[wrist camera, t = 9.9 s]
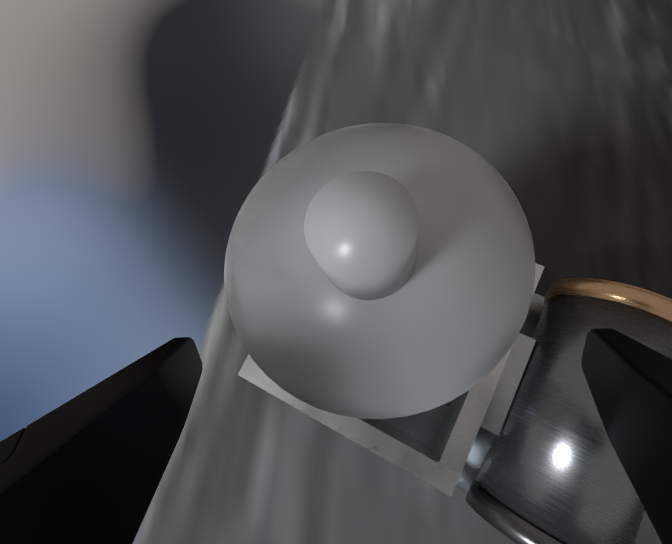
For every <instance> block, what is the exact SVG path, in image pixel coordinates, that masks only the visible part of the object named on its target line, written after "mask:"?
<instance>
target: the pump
mask: <svg viewBox="0 0 672 544" xmlns="http://www.w3.org/2000/svg"><path fill="white" fill-rule="evenodd" d="M224 280H225V294H226V299H227V305H228V310H229V313H230V316H231V319H232V322H233V325H234V328H235V330H236V332H237V334H238V336H239V338H240V340H241V342H242V344H243V346H244V347H245V349H246V350H247V352H248V353H249V355H250V356H251V358H252V359H253V361H254V362H255V363H256V364H257V365H258V367H259V368H260V369H261V370H262V371H263V372H264V373H265V374H266V376H268V377H269V378H270V379H271V380H272V381H273V382H275V383H276V384H277V385H278V386H279V387H280V388H282V389H283V390H285V391H286V392H288V393H289V394H291V395H292V396H294V397H296V398H297V399H299V400H300V401H303V402H305V403H307V404H309V405H311V406H314V407H316V408H318V409H320V410H324V411H327V412H331V413H334V414H337V415H341V416H347V417H354V418H361V419H389V418H397V417H405V416H410V415H414V414H417V413H421V412H425V411H428V410H431V409H434V408H436V407H438V406H441V405H443V404H445V403H447V402H450V401H452V400H454V399H455V398H457V397H458V396H460V395H462V394H463V393H465V392H467V391H468V390H470V389H471V388H473V387H474V386H475V385H476V384H477V383H479V382H480V381H481V380H482V379H483V378H485V377H486V376H487V375H488V374H489V373H490V372H491V371H492V370H493V369H494V368H495V367H496V366H497V364H498V363H499V362H500V361H501V360H502V359H503V358H504V357H505V355H506V354H507V352H508V351H509V349H510V348H511V346H512V345H513V343H514V342H515V340H516V338H517V336H518V334H519V332H520V330H521V328H522V326H523V324H524V322H525V319H526V317H527V313H528V310H529V307H530V303H531V300H532V296H533V288H534V281H535V252H534V246H533V239H532V234H531V231H530V228H529V224H528V221H527V218H526V215H525V213H524V211H523V209H522V207H521V205H520V203H519V201H518V198H517V197H516V195H515V194H514V192H513V191H512V189H511V188H510V186H509V185H508V183H507V182H506V181H505V179H504V178H503V177H502V176H501V175H500V174H499V173H498V171H497V170H496V169H495V168H494V167H493V166H492V165H491V164H490V163H488V162H487V161H486V160H485V159H484V158H483V157H482V156H480V155H479V154H478V153H476V152H475V151H473V150H472V149H470V148H469V147H467V146H466V145H464V144H462V143H461V142H459V141H457V140H455V139H453V138H451V137H449V136H446V135H444V134H441V133H438V132H435V131H433V130H430V129H426V128H421V127H417V126H413V125H405V124H396V123H371V124H362V125H355V126H351V127H346V128H342V129H338V130H335V131H332V132H329V133H326V134H323V135H321V136H319V137H317V138H315V139H312V140H310V141H308V142H306V143H304V144H303V145H301V146H299V147H298V148H296V149H295V150H293V151H291V152H290V153H289V154H287V155H286V156H285V157H283V158H282V159H281V160H280V161H278V162H277V163H276V164H275V165H274V166H273V167H272V168H271V169H270V170H269V171H268V172H267V173H266V174H265V175H264V176H263V177H262V178H261V179H260V180H259V182H258V183H257V184H256V185H255V187H254V188H253V189H252V191H251V192H250V194H249V195H248V197H247V199H246V200H245V202H244V203H243V205H242V207H241V209H240V211H239V213H238V215H237V217H236V219H235V222H234V225H233V228H232V231H231V234H230V237H229V241H228V246H227V250H226V256H225V268H224Z"/></svg>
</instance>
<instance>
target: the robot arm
mask: <svg viewBox="0 0 672 544" xmlns="http://www.w3.org/2000/svg"><path fill="white" fill-rule="evenodd" d="M581 365H582V370H583V373H584V375H585V378H586V381H587V383H588V386H589V389H590V391H591V394H592V397H593V399H594V402H595V405H596V407H597V410H598V413H599V415H600V418H601V421H602V423H603V426H604V428H605V431H606V433H607V436H608V438H609V440H610V442H611V444H612V446H613V448H614V450H615V452H616V454H617V456H618V458H619V460H620V462H621V464H622V466H623V468H624V470H625V472H626V474H627V476H628V478H629V479H630V481H631V483H632V485H633V487H634V489H635V491H636V493H637V495H638V497H639V499H640V501H641V503H642V505H643V507H644V509H645V511H646V513H647V515H648V517H649V519H650V521H651V522H652V524H653V526H654V528H655V530H656V532H657V534H658V536H659V538H660V540H661V542H662V544H672V359H670V358H668V357H666V356H665V355H663V354H661V353H659V352H657V351H655V350H653V349H651V348H649V347H647V346H645V345H643V344H641V343H640V342H638V341H636V340H634V339H632V338H630V337H628V336H626V335H624V334H622V333H620V332H618V331H616V330H614V329H611V328H596V329H591V330H589V331H588V333H587V336H586V340H585V345H584V349H583V354H582V359H581ZM201 373H202V361H201V359H200V356H199V353H198V350H197V348H196V345H195V342H194V341H193V339H192V338H189V337H182V338H181V337H179V338H174V339H172V340H170V341H168V342H167V343H165V344H163V345H162V346H160V347H158V348H157V349H155V350H153V351H152V352H150V353H148V354H147V355H145V356H144V357H142V358H140V359H138V360H137V361H135V362H133V363H132V364H130V365H128V366H127V367H125V368H123V369H122V370H120V371H118V372H117V373H115V374H113V375H112V376H110V377H108V378H106V379H105V380H103V381H102V382H100V383H98V384H96V385H95V386H93V387H91V388H90V389H88V390H86V391H85V392H83V393H81V394H80V395H78V396H76V397H75V398H73V399H71V400H70V401H68V402H66V403H65V404H63V405H61V406H60V407H58V408H56V409H55V410H53V411H51V412H50V413H48V414H46V415H45V416H43V417H41V418H40V419H38V420H36V421H34V422H33V423H31V424H29V425H28V426H27V427H26V428H23V429H21V430H19V431H18V432H16V433H14V434H13V435H11V436H9V437H8V438H6V439H5V440H2V441H1V442H0V544H132V543H133V541H134V539H135V537H136V534H137V532H138V530H139V527H140V525H141V523H142V521H143V518H144V516H145V514H146V512H147V509H148V507H149V505H150V503H151V500H152V498H153V496H154V494H155V491H156V489H157V487H158V485H159V482H160V480H161V478H162V476H163V473H164V471H165V469H166V467H167V464H168V462H169V460H170V458H171V455H172V453H173V451H174V449H175V446H176V444H177V442H178V440H179V437H180V435H181V432H182V430H183V428H184V425H185V422H186V419H187V416H188V413H189V410H190V407H191V404H192V401H193V398H194V395H195V392H196V389H197V386H198V383H199V379H200V376H201Z"/></svg>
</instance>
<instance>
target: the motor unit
mask: <svg viewBox="0 0 672 544" xmlns="http://www.w3.org/2000/svg"><path fill="white" fill-rule="evenodd" d="M543 270H544V266H542V265H539V264H537V263H535V281H534V288H533V296H532V300H531V303H530V307H529V310H528V313H527V317H526V319H525V322H524V324H523V326H522V328H521V330H520V332H519V334H518V336H517V338H516V340H515V342H514V343H513V345H512V346H511V348H510V349H509V351H508V352H507V354H506V355H505V357H504V358H503V359H502V360H501V361H500V362H499V363H498V364H497V366H496V367H495V368H494V369H493V370H492V371H491V372H490V373H489V374H488V375H487V376H486V377H485V378H483V379H482V380H481V381H480V382H479V383H477V384H476V385H475V386H474V387H473V388H471V389H470V390H468V391H467V392H465V393H463V394H462V395H460V396H458V397H457V398H455V399H454V400H452V401H450V402H447V403H445V404H443V405H441V406H438V407H436V408H434V409H431V410H428V411H425V412H421V413H417V414H414V415H410V416H405V417H397V418H389V419H361V418H354V417H347V416H341V415H337V414H334V413H331V412H327V411H324V410H320V409H318V408H316V407H314V406H311V405H309V404H307V403H305V402H303V401H300V400H299V399H297V398H296V397H294V396H292V395H291V394H289V393H288V392H286V391H285V390H283V389H282V388H280V387H279V386H278V385H277V384H276V383H275V382H273V381H272V380H271V379H270V378H269V377H268V376H266V374H265V373H264V372H263V371H262V370H261V369H260V368H259V367H258V365H257V364H256V363H255V362H254V361H253V359H252V358H251V356H250V355H248V357H247V359H246V360H245V362H244V364H243V366H242V368H241V370H240V372H239V374H238V375H239V376H241V377H243V378H244V379H246V380H248V381H250V382H251V383H253V384H255V385H257V386H258V387H260V388H262V389H264V390H265V391H267V392H269V393H271V394H272V395H274V396H276V397H277V398H279V399H281V400H283V401H284V402H286V403H288V404H290V405H291V406H293V407H295V408H297V409H298V410H300V411H302V412H304V413H305V414H307V415H309V416H311V417H312V418H314V419H316V420H318V421H319V422H321V423H323V424H325V425H326V426H328V427H330V428H332V429H333V430H335V431H337V432H339V433H340V434H342V435H344V436H345V437H347V438H349V439H351V440H352V441H354V442H356V443H358V444H359V445H361V446H363V447H365V448H366V449H368V450H370V451H372V452H373V453H375V454H377V455H379V456H380V457H382V458H384V459H386V460H387V461H389V462H391V463H393V464H394V465H396V466H398V467H400V468H401V469H403V470H405V471H406V472H408V473H410V474H412V475H413V476H415V477H417V478H419V479H420V480H422V481H424V482H426V483H427V484H429V485H431V486H433V487H434V488H436V489H438V490H440V491H441V492H443V493H445V494H447V495H448V496H450V497H452V495H453V492H454V490H455V487H458V488H460V489H462V490H463V491H465V492H467V496H466V501H467V503H468V504H469V505H470V506H471V507H472V508H473V509H474V510H475V511H476V512H477V513H478V514H479V515H480V516H481V517H482V518H484V519H485V520H486V521H487V522H488V523H490V524H491V525H492V526H493V527H495V528H496V529H497V530H499V531H500V532H501V533H503V534H504V535H505V536H507V537H508V538H510V539H511V540H512V541H514V542H515V543H517V544H634V543H635V540H636V537H637V534H638V530H639V527H640V524H641V521H642V518H643V514H644V511H645V509H644V507H643V505H642V503H641V501H640V499H639V497H638V495H637V493H636V491H635V489H634V487H633V485H632V483H631V481H630V479H629V478H628V476H627V474H626V472H625V470H624V468H623V466H622V464H621V462H620V460H619V458H618V456H617V454H616V452H615V450H614V448H613V446H612V444H611V442H610V440H609V438H608V436H607V433H606V431H605V428H604V426H603V423H602V421H601V418H600V415H599V413H598V410H597V407H596V405H595V402H594V399H593V397H592V394H591V391H590V389H589V386H588V383H587V381H586V378H585V375H584V373H583V370H582V365H581V359H582V354H583V349H584V345H585V340H586V336H587V333H588V331H589V330H591V329H596V328H611V329H614V330H616V331H618V332H620V333H622V334H624V335H626V336H628V337H630V338H632V339H634V340H636V341H638V342H640V343H641V344H643V345H645V346H647V347H649V348H651V349H653V350H655V351H657V352H659V353H661V354H663V355H665V356H666V357H668V358H670V359H672V299H671V298H668V297H666V296H663V295H661V294H658V293H655V292H652V291H650V290H646V289H643V288H640V287H636V286H633V285H629V284H625V283H620V282H615V281H610V280H604V279H596V278H583V277H573V278H564V279H559V280H556V281H554V282H553V283H552V284H551V285H550V287H549V289H548V292H547V294H546V297H543V296H541V295H538V294H536V293H534V292H535V289H536V287H537V284H538V282H539V280H540V277H541V275H542V272H543Z"/></svg>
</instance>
